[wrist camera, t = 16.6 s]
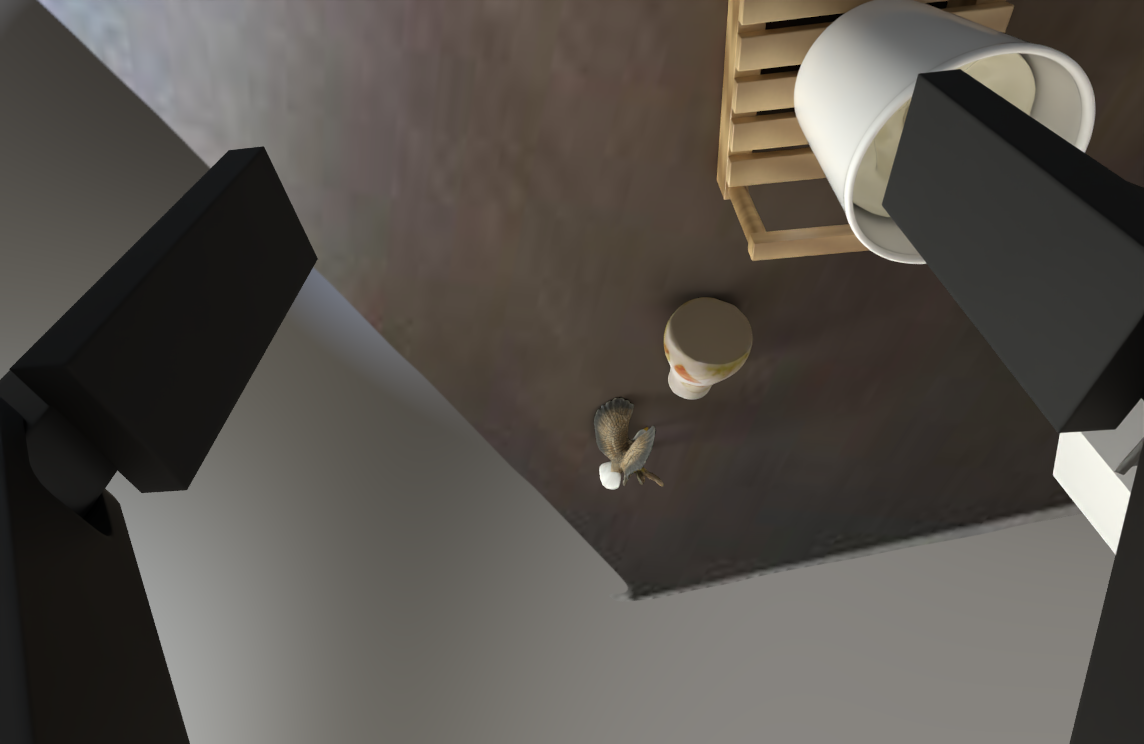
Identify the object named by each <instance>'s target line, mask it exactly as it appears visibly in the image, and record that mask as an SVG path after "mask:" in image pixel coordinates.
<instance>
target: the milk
mask: <svg viewBox="0 0 1144 744" xmlns="http://www.w3.org/2000/svg"><path fill="white" fill-rule="evenodd" d="M1143 437H1144V401H1143V399H1142V398H1141V399H1140V400H1139V402H1138V403H1137V404H1136V405H1135V407H1134V408H1133V409H1132V410H1131V411H1130V413H1129V414H1128V415H1127V416H1126V418H1125V419H1124V420H1123V421H1122V422H1121V424H1120V425H1119V426H1118V427H1117V428H1116V429H1115V430H1099V431H1084V432H1069V433H1060V436H1059V442H1058V448H1057V454H1056V459H1055V465H1054V471H1053V476H1054V477H1055V478H1056V480H1057V481H1058V482H1059V483H1060V485H1061V486H1062V487H1063V489H1064V490H1065V491H1066V492H1067V494H1068V495H1069V496H1070V497H1071V499H1072V500H1073V501H1074V503H1075V504H1076V505H1077V506H1078V508H1079V509H1080V510H1081V511H1082V513H1083V514H1084V515H1085V516H1086V518H1087V519H1088V520H1089V522H1090V523H1091V524H1092V525H1093V526H1094V528H1095V529H1096V530H1097V531H1098V533H1099V534H1100V535H1101V537H1102V538H1103V539H1104V540H1105V542H1106V543H1107V544H1108V546H1109V547H1110V548H1111V549H1112V551H1113V552H1114V553H1115V554H1116V551H1117V547H1118V543H1119V539H1120V535H1121V531H1122V527H1123V523H1124V519H1125V515H1126V511H1127V506H1128V502H1129V498H1130V494H1131V490H1132V486H1133V482H1134V478H1135V474H1136V470H1137V466H1133V467H1131V468H1130V469H1129V470H1128V472H1127V473H1126V474H1125V475H1122V474H1119V473H1117V472H1114V471H1115V470H1116V469H1117V467H1118V466H1119V465H1120V463H1121V462H1122V461H1123V460H1124V459H1125V458H1126V456H1127V455H1128V454H1129V453H1130V452H1131V451H1132V450H1133V449H1134V447H1135V446H1136V445H1137V444H1138V443H1139V442H1140V441H1141V439H1142V438H1143Z"/></svg>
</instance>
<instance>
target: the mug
mask: <svg viewBox="0 0 1144 744" xmlns="http://www.w3.org/2000/svg"><path fill="white" fill-rule="evenodd" d="M752 341H753V336H752V329H751V326H750V324H749V322H748V319H747V318H746V316H745V315H744V314H742V312H741V311H740V310H739V309H738V308H737V307H736V306H734V305H732V304H729V303H727V302H723V301H720V300H718V299H715V298H710V297H700V298H696V299H692V300H690V301H687V302H685V303H684V304H683V305H681V306H680V307H679V308H678V309H677V310H676V311H675V312H674V313H673V314H672V316H671V317H670V319H669V321H668V323H667V326H666V329H665V333H664V349H665V354H666V357H667V359H668V362H669V364H670V366H671V369H670V373H669V377H668V382H669V385H670V387H671V389H672V391H673V392H674V393H675V394H677V395H678V396H680V397H683V398H686V399H698V398H701V397H703V396H704V395H706V394H707V393H708V391H709V390H710V388H711V386H712V384H714V383H717V382H719V381H722V380H724V379H726V378H728V377H730V376H731V375H733V374H734V373H736V372H737V371H738V370H739V369H740V368H741V367H742V365H743V364H744V363H745V361H746V359H747V358H748V356H749V353H750V350H751V347H752Z"/></svg>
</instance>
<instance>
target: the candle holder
mask: <svg viewBox="0 0 1144 744" xmlns="http://www.w3.org/2000/svg"><path fill="white" fill-rule="evenodd" d="M955 69H961V70H962V71H964V72H965V73H967V74H968V75H970V76H971V77H973V78H974V79H976V80H977V81H979V82H980V83H982V84H983V85H985V86H986V87H988V88H989V89H991V90H992V91H994V92H995V93H997V94H998V95H999V96H1001V97H1002V98H1004V99H1005V100H1007V101H1008V102H1010V103H1011V104H1013V105H1014V106H1016V107H1017V108H1019V109H1020V110H1022V111H1023V112H1025V113H1026V114H1028V115H1029V116H1031V117H1032V118H1034V119H1035V120H1037V121H1038V122H1039V123H1041V124H1042V125H1044V126H1045V127H1047V128H1048V129H1050V130H1051V131H1053V132H1054V133H1056V134H1057V135H1059V136H1060V137H1062V138H1063V139H1065V140H1066V141H1068V142H1069V143H1071V144H1072V145H1074V146H1075V147H1076V148H1078V149H1079V150H1081V151H1082V152H1084V153H1085V151H1086V149H1087V146H1088V144H1089V141H1090V138H1091V135H1092V131H1093V127H1094V121H1095V97H1094V92H1093V88H1092V85H1091V83H1090V80H1089V78H1088V77H1087V75H1086V73H1085V72H1084V70H1083V69H1082V68H1081V67H1080V66H1079V65H1078V64H1077V63H1076V62H1075V61H1074V60H1073V59H1072V58H1070V57H1069V56H1067V55H1066V54H1064V53H1062V52H1060V51H1058V50H1056V49H1053V48H1051V47H1047V46H1044V45H1039V44H1033V43H1030V42H1028V41H1025V40H1022V39H1019V38H1017V37H1014V36H1012V35H1009V34H1006V33H1004V32H1001V31H998V30H996V29H993V28H990V27H988V26H985V25H982V24H980V23H977V22H974V21H972V20H969V19H966V18H964V17H961V16H958V15H956V14H953V13H950V12H948V11H945V10H942V9H940V8H937V7H934V6H931V5H929V4H926V3H923V2H920V1H916V0H872V1H869V2H866V3H864V4H861V5H859V6H857V7H855V8H853V9H851V10H849V11H848V12H846V13H845V14H843V15H842V16H840V17H839V18H838V19H836V20H835V21H834V22H833V23H832V24H830V25H829V26H828V27H827V28H826V29H825V30H824V31H823V32H822V33H821V35H820V36H819V37H818V38H817V39H816V41H815V42H814V43H813V45H812V46H811V48H810V49H809V51H808V52H807V54H806V56H805V58H804V60H803V62H802V64H801V66H800V69H799V72H798V75H797V78H796V83H795V88H794V108H795V113H796V117H797V120H798V123H799V125H800V128H801V130H802V132H803V134H804V136H805V138H806V140H807V142H808V144H809V146H810V148H811V150H812V152H813V153H814V155H815V157H816V159H817V161H818V163H819V165H820V167H821V169H822V170H823V172H824V174H825V176H826V178H827V180H828V182H829V184H830V185H831V187H832V189H833V191H834V193H835V195H836V197H837V199H838V201H839V202H840V204H841V206H842V208H843V210H844V212H845V214H846V217H847V220H848V222H849V225H850V227H851V229H852V231H853V233H854V234H855V236H856V237H857V238H858V239H859V241H860V242H861V243H862V244H863V245H864V246H865V247H867V248H868V249H869V250H871V251H872V252H874V253H875V254H877V255H879V256H881V257H883V258H886V259H889V260H892V261H896V262H901V263H909V264H927V263H926V262H925V261H924V259H923V258H922V257H921V255H920V254H919V253H918V252H917V250H916V249H915V248H914V246H913V245H912V244H911V242H910V241H909V240H908V239H907V237H906V236H905V235H904V233H903V232H902V231H901V230H900V228H899V227H898V226H897V224H896V223H895V222H894V221H893V219H892V218H891V217H890V215H889V214H888V213H887V212H886V210H885V209H884V208H883V206H882V202H883V198H884V194H885V191H886V187H887V184H888V180H889V177H890V173H891V169H892V166H893V162H894V159H895V155H896V152H897V148H898V144H899V141H900V137H901V134H902V130H903V127H904V123H905V120H906V116H907V112H908V109H909V105H910V102H911V98H912V95H913V91H914V87H915V84H916V80H917V77H918V74H919V73H928V72H937V71H946V70H955Z"/></svg>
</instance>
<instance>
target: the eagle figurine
mask: <svg viewBox="0 0 1144 744" xmlns="http://www.w3.org/2000/svg"><path fill="white" fill-rule="evenodd" d="M633 407H634V405H633V404H630V402H629V401H628V400H626V401H624V399H623V398H619V399H618V398H614V399H613V400H612V401H608V402H607V403H606V406H604V405H602V406H601V409H598V411H597V413H596V416H595V421H594V424H595V432H596V439H597V440H596V442H597V445H598V447H599V448H600V450H601V451H602V453H604V454H605V455H606V456H607V457H608V458H609V459H610V460H611V462H607V463H603V464H602V465H601V466H600V480H601V481H602V485H603V486H605V487H606V488H608V489H617V488H618V487H619V486H620V482H621V473H622V472H623V471H624V474H625V476H624V481H623V485H624V486H625V485H626V483H627V481H628V479H629V477H630V476H631V475H632V474H633V473H636V475H637V478H638V480H639V482H640V484H641V485H643V484H644V481H645V477H644V476H646V477H648V478H650V479H652V480H654V481H656V482H657V483H658V484H659V485H660V486H664V484H663V482H662V481H661V480H660V478H658V477H657V476H656V475H655V474H653V473H651V472H648V471H647V470H646V469H644V464H645V462H646V461H647V459H648V457H649V455H650V453H651V451H652V447H653V444H654V439H655V433H656V429H655V427H654V426H652V427H651V428H650V429H649V430H648V427H646V428H644V429H643V430H640V431H639V432H638V433H637V434H636V436H635V437H634V438H633V439H632V440H630V439H629V438H628V426H629V420H630V418H631V415H632V412H633ZM647 430H648V431H647Z"/></svg>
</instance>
